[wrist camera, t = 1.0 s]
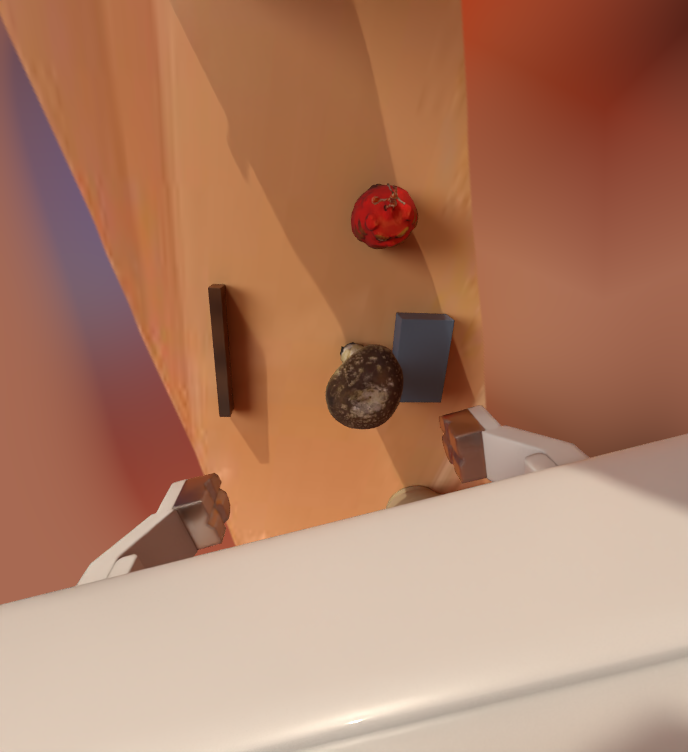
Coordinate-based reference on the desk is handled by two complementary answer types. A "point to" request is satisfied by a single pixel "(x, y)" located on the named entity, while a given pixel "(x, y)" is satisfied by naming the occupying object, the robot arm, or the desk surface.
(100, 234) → the desk surface
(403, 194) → the red clay folk toy
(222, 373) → the ledge
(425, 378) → the block
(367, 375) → the mushroom
